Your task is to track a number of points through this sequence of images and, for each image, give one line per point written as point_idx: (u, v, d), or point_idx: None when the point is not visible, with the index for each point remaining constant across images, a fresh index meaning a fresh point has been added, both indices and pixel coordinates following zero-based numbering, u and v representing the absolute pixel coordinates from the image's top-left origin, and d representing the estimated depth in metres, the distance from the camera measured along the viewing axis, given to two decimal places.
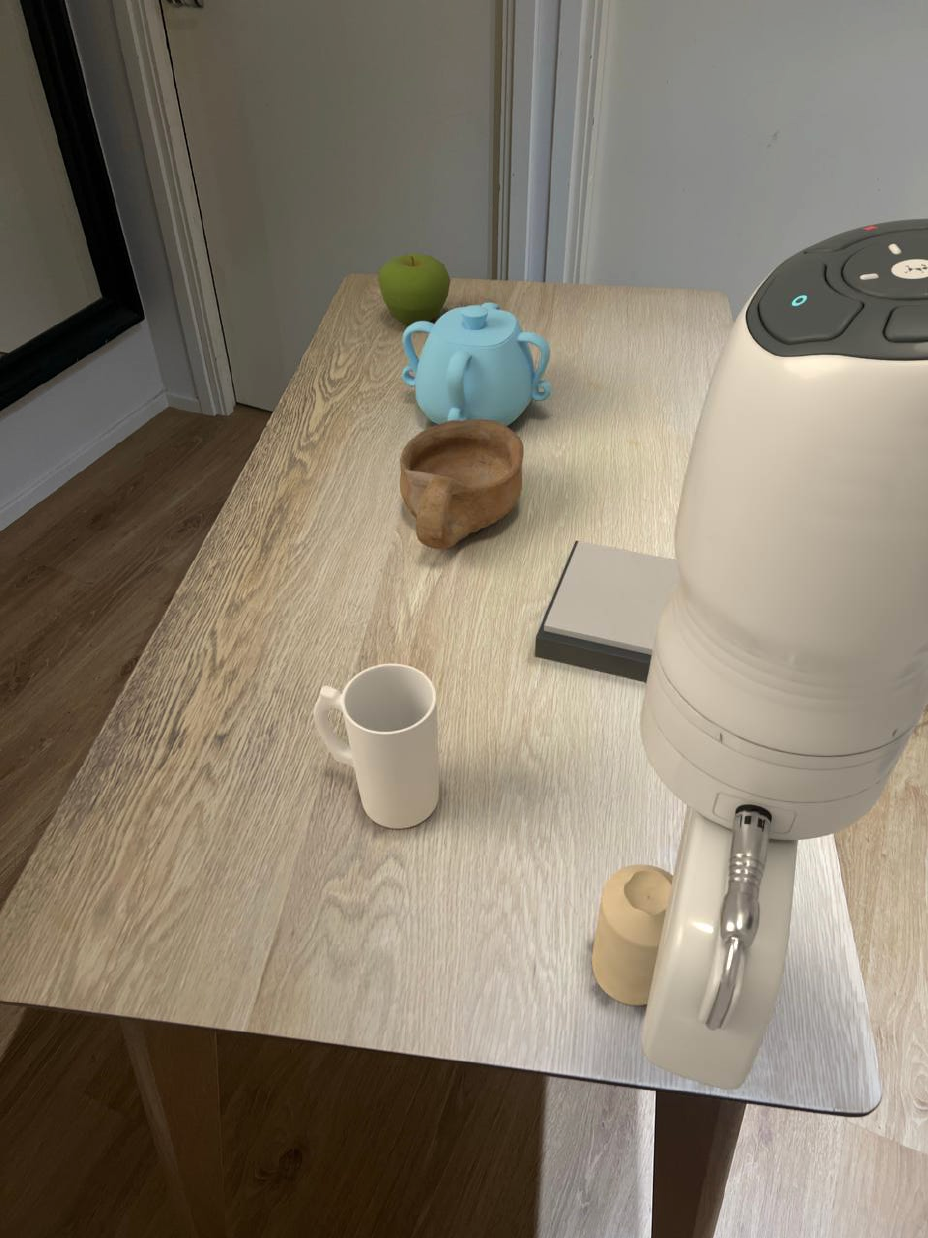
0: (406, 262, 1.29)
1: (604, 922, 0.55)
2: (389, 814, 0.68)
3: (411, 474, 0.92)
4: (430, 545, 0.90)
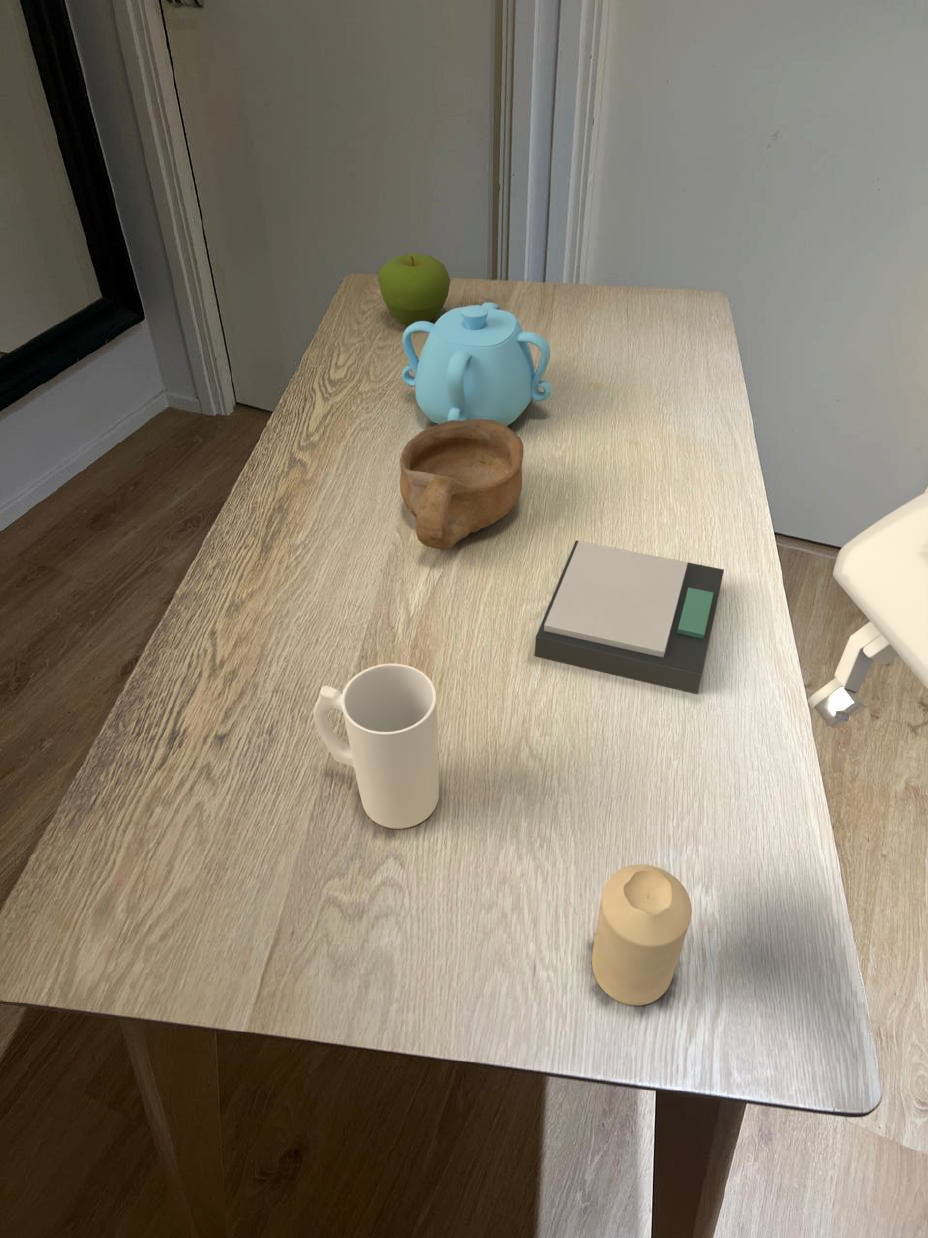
0: (406, 262, 1.29)
1: (604, 922, 0.55)
2: (389, 814, 0.68)
3: (411, 474, 0.92)
4: (430, 545, 0.90)
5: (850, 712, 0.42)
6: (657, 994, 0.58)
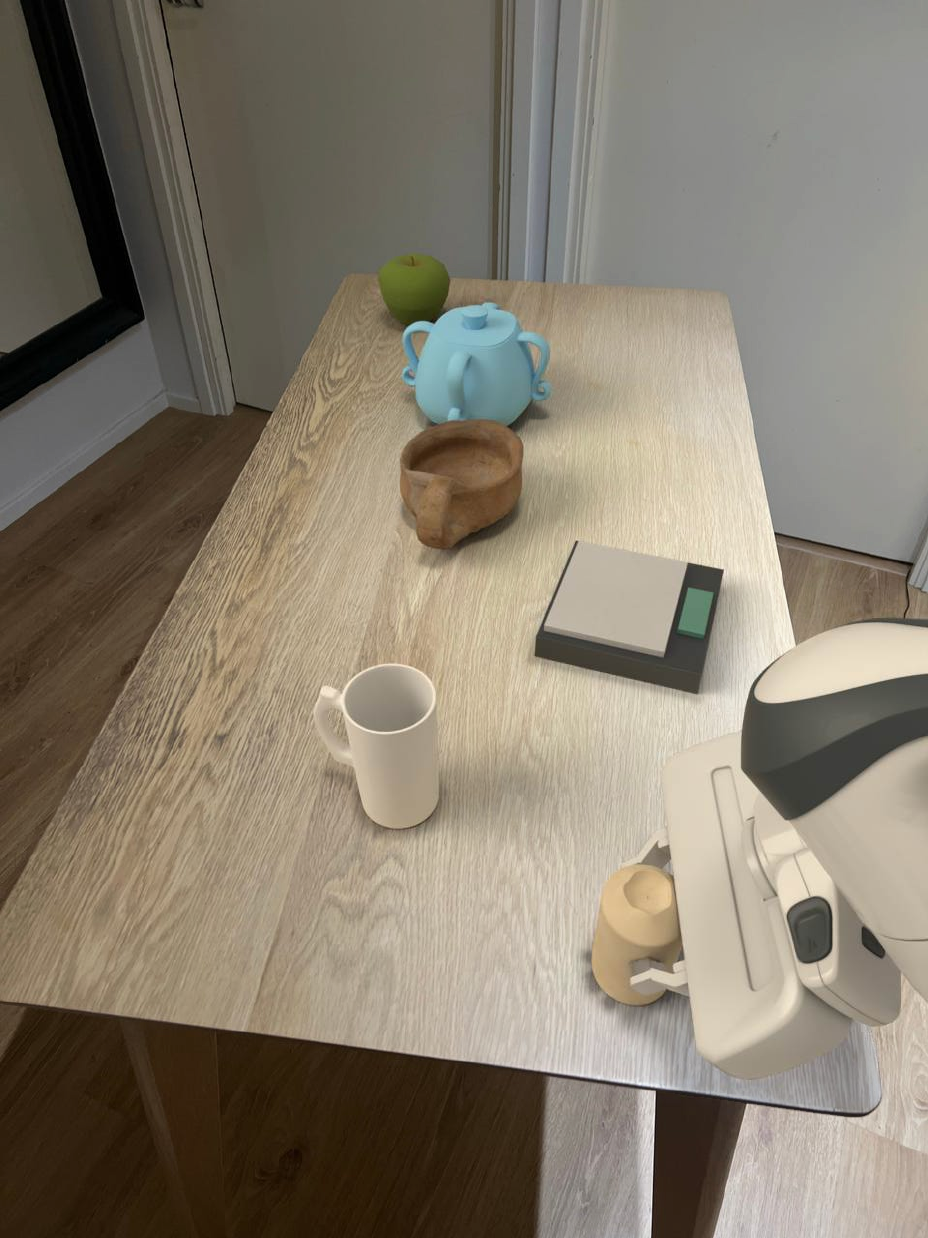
0: (406, 262, 1.29)
1: (604, 922, 0.55)
2: (389, 814, 0.68)
3: (411, 474, 0.92)
4: (430, 545, 0.90)
5: None
6: (657, 994, 0.58)
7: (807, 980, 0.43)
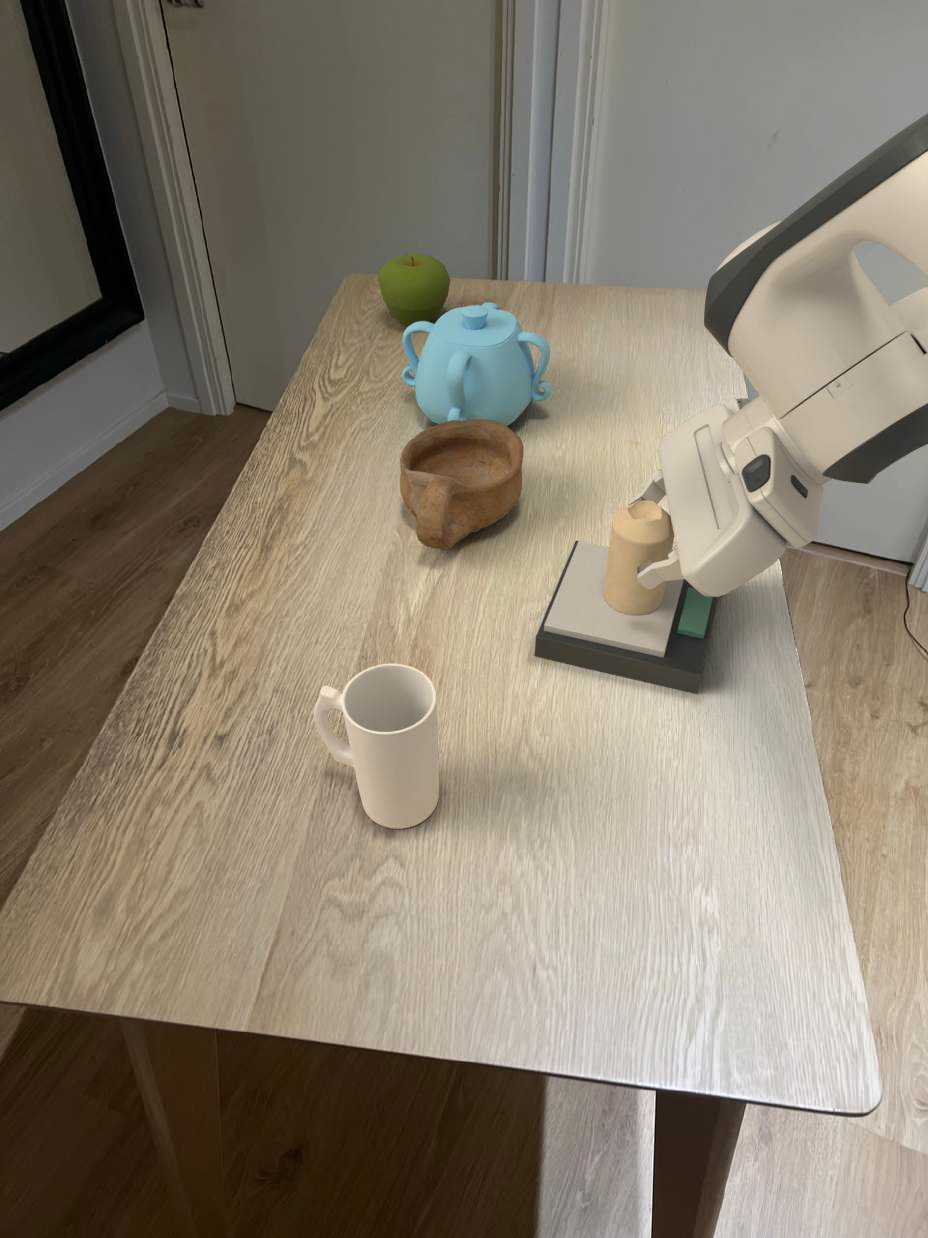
0: (406, 262, 1.29)
1: (614, 536, 0.78)
2: (389, 814, 0.68)
3: (411, 474, 0.92)
4: (430, 545, 0.90)
5: None
6: (651, 604, 0.81)
7: (753, 498, 0.66)
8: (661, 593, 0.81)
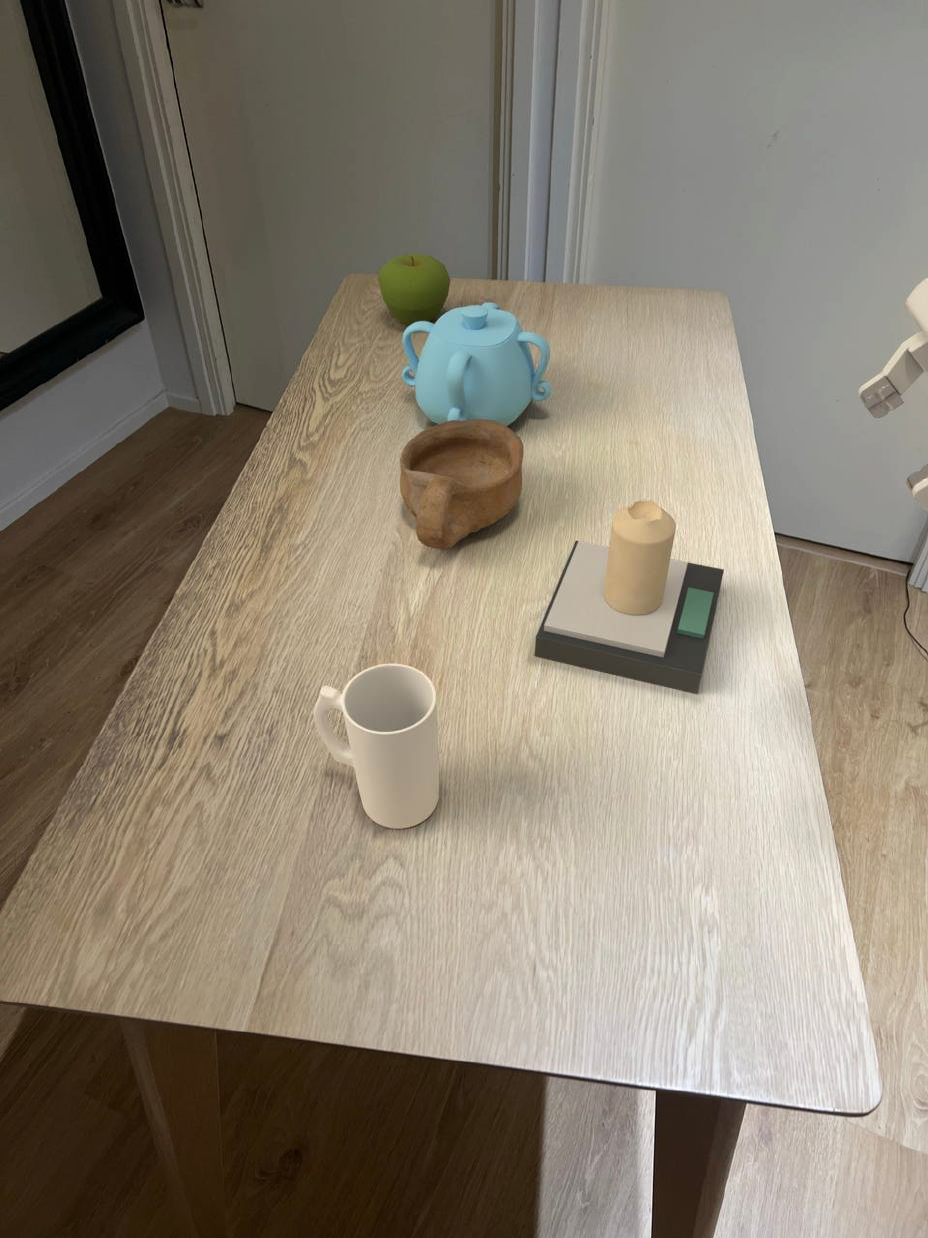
0: (406, 262, 1.29)
1: (614, 536, 0.78)
2: (389, 814, 0.68)
3: (411, 474, 0.92)
4: (430, 545, 0.90)
5: (888, 401, 0.53)
6: (651, 604, 0.81)
7: None
8: (661, 593, 0.81)
